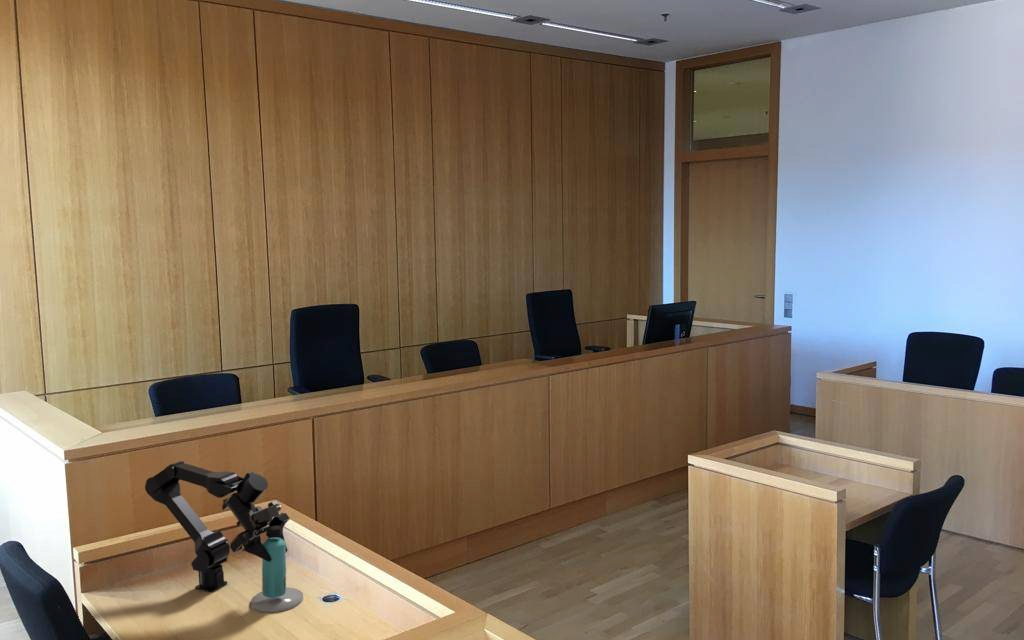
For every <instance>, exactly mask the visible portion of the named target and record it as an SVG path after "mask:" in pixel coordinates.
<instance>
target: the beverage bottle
mask: <svg viewBox="0 0 1024 640" xmlns="http://www.w3.org/2000/svg"><path fill="white" fill-rule="evenodd" d="M265 535H266V537H267V539H266V540H264V541H263V543H262V545H263V546H264V548H265V549H266V550H267V552H268V553H269V555H270V557H271V559H272V560H271V561H270V562H268V561H266V560H264V559H262V558H261V560H262V561H261V565H262V566H261V577H262V578H261V592H262V593H263V596H265V597H269V598H274V597H280V596H282V595H284V594H285V592H286V587H287V580H286V579H287V559H286V558H287V556H286V553H287V552H286V547H287V542H286V540H285V539H284V540H285V541H284V540H283V539H281V538H278V536H281V535H282V531H281V527H279V526H271V527H268V528H267V532H266V533H265ZM268 537H274V538H269V539H268Z"/></svg>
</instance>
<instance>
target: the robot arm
mask: <svg viewBox="0 0 1024 640" xmlns="http://www.w3.org/2000/svg"><path fill="white" fill-rule="evenodd" d="M180 481H183V482H186V483H189V484H193V485H196V486H198V487H203V488H205V490H206V492H207V493H209V494H210V495H212V496H213V497H216V498H218V499H221V498H223V497H227V496H228V497H227V498H225V499H223V500H222V501H223V502H222V506H221V509H222V510H223V511H224V510H227V509H229V510H230V511H231V513H232V515H233V516H234V517H235V518H236V520H237V521H236V523H235V524H236V526H237V527H240V526H242V528H243V530H244V531H241V532H239V533H238V534H237V535H236V536H235V537H234V538H233V540H232V541H230V543H229V542H228V541H229V539H228V538H226V537H225V536H224V535H223V532H221V531H220V530H216V531H214V532H213V531H211V530H210V529H209V528H208V527H207V526H206V524H205V523H204V522H203V520H202V519H201V518H200V516H199V515H198V514H197V513H196V512H195V510H194V509H193V508H192V507H191V505H190V504H189V503H188V501H186V500H187V499H185V498H184V497H183V495H182V494H181V484H180ZM144 485H145V486H144V488H145V489H144V490H145V491H146V494H148V495H149V497H150V498H151V499H153V500H154V501H155V502H157V503H159V504H162V505H165V507H166V508H167V509H168V510H169V511H170V513H171V514H172V515H173V517H174V518H175V519H176V521H177V522H178V523H179V524H180V526H181V527H182V528H183V529H184V530H185V532H186V533H187V535H188V536H189V537H190V539H192V541H193V542H194V553H195V554H196V557H195V558H194V559H193V560H192V561H191V567H192V569H193V570H192V571H196V572H198V585H196V586H194V589H196V590H199V591H204V592H210V593H213V592H215V591H216V590H218V589H220V588H222V587H224V586H226V585H227V584H228V581H225V575H224V569H223V565H222V564H224V563H226V562H228V557H229V556H230V552H231V551H232V552H233V554H235V553H238V552H240V551H242V552H243V553H244V552H247V553H249V554H251V555H255V556H256V557H258V558H260V559H261V560H262V559H264V560H266V561H268V562H270V561H271V560H272V559H271V557H270V555H269V553H268V552H267V550H266V549H265V548H264V546H263V545H262V544H263V543H262V542H261V535H264V534H266V532H267V528H268V527H271V526H279V527H281V531H282V535H281V536H278V538H281V539H283V540H284V541H285V542H286V540H285V536H284V527H285V526H286V524H287V522H289V520H290V519H291V517H290V516H289V515H288V514H287V513H286V512H281V513H280V511H281V510H282V507H281V505H280V503H279V502H278V501H277V500H273V501H270V502H269V503H268V504H267V507H265V508H262V507H261V506H260V505H258V506H255V504H254V503H255V502H256V501H258V499H259V498H260V497H261V496H262V495H263V493H264V492H266V490H267V489H268V486H269V484H268V480H267V479H266V478H265V477H263V476H262V475H261V474H257V473H255V472H254V471H249V472H247V473H246V474H245V475H244V476H243V477H242V476H239V475H238V474H237V473H236V472H234V471H233V472H232V471H211V470H208V469H205V468H203V467H202V468H201V467H198V466H195V465H192V464H189V463H187V462H185V461H182V460H179V461H176V462H173V463H171V464H169V465H167V466H166V467H165V468H164V469H163V470H161V471H159V472H158V473H156V474H155V475H154V476H153V475H152V476H150V477H148V478H147V480H146V481H145V484H144ZM229 495H230V496H229ZM269 538H274V537H268V536H267V539H269ZM288 551H289V550H288V546H286V553H287V552H288Z"/></svg>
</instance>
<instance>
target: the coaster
mask: <svg viewBox="0 0 1024 640" xmlns="http://www.w3.org/2000/svg"><path fill="white" fill-rule="evenodd" d="M303 600H304V593H303V592H302V591H301V590H300V589H298V588H295V587H290V586H289V587H288V586H286V592H285V594H284V595H282V596H280V597H274V598H269V597H265V596H263V593H262V591H260V592H259V593H256V594H255V595H253V596H252V598H251V599H250V607H251V609H253V611H256V612H259V613H264V614H265V613H266V614H273V613H281V612H284V611H285V612H286V611H288V610H291V609H293V608H296V607H297V606H299V605H300V604H301V603H302V602H303Z"/></svg>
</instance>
